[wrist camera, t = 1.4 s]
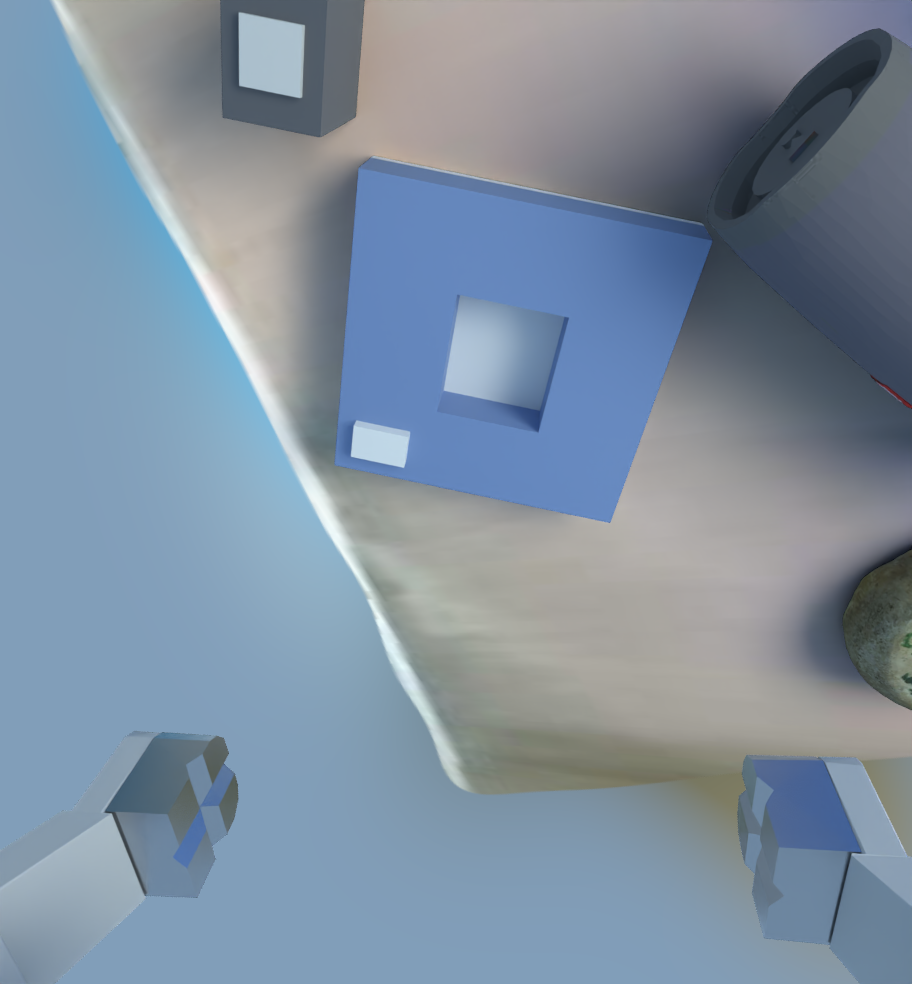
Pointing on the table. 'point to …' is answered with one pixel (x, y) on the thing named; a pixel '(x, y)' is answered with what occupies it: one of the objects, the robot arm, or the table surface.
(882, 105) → the bluetooth speaker
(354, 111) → the plug
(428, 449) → the socket
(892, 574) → the weight
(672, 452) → the table surface
